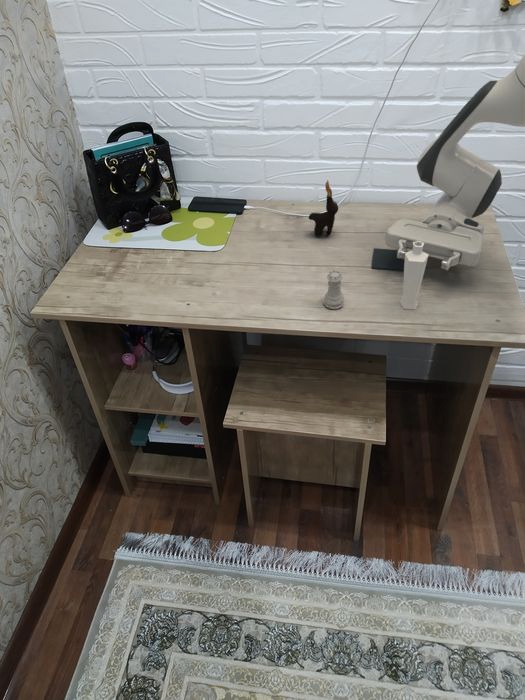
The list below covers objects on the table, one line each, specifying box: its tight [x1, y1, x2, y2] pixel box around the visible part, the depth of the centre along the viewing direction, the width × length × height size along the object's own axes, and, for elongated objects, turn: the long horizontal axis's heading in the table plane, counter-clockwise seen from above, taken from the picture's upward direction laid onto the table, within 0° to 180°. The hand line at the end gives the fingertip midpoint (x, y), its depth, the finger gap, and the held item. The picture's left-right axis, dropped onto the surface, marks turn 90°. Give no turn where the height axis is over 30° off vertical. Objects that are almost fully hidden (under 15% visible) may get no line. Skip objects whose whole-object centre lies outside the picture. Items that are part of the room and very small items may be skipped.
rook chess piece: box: [323, 269, 345, 310], centre depth 120 cm, size 4×4×8 cm
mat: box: [370, 247, 409, 272], centre depth 133 cm, size 10×8×1 cm
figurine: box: [308, 179, 339, 237], centre depth 139 cm, size 11×7×15 cm
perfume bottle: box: [399, 241, 429, 310], centre depth 116 cm, size 5×4×15 cm
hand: (422, 261), depth 118 cm, fingers open, 8 cm apart
